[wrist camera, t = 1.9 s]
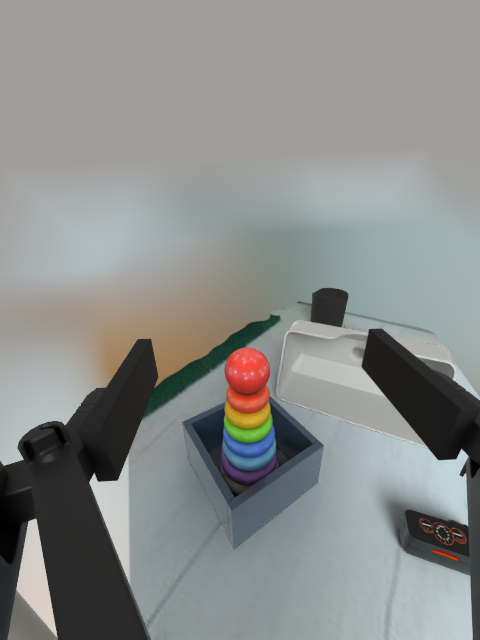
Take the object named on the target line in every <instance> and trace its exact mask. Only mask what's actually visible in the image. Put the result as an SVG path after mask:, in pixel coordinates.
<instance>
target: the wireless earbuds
mask: <svg viewBox="0 0 480 640" xmlns="http://www.w3.org/2000/svg"><path fill="white" fill-rule="evenodd" d="M399 533H400V539H401V544H402V547H403V549H404V551H405V552H406V553H408V554H411V555H413V556H416V557H419V558H422V559H425V560H427V561H430V562H433V563H436V564H439V565H442V566H444V567H447V568H450V569H453V570H456V571H458V572H461V573H464V574H467V575H470V552H469V527H468V526H467V525H464V524H463V525H462V524H460V523H458V522H456V521H454V520H448V521H445V520H442V519H438V518H435V517H432V516H429V515H425V514H422V513H419V512H416V511H412V510H406V511H405V513H404V515H403V517H402V520H401V522H400V524H399Z"/></svg>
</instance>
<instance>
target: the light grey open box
mask: <svg viewBox="0 0 480 640" xmlns="http://www.w3.org/2000/svg"><path fill="white" fill-rule="evenodd" d="M367 337H368V332H363V331H358V330H352V329H347V328H341V327H336V326H330V325H325V324H319V323H314V322H308V321H303V320H297V321H295V322H294V323H293V325H292V326H291V328H290V329H289V330H288V332H287V333H286V334H285V337H284V343H283V349H282V355H281V361H280V367H279V373H278V379H277V385H276V395H277V397H278V398H279V399H280V400H282V401H285V402H288V403H291V404H294V405H297V406H300V407H303V408H306V409H309V410H312V411H315V412H318V413H321V414H324V415H327V416H330V417H334V418H337V419H340V420H343V421H346V422H349V423H352V424H355V425H358V426H361V427H364V428H367V429H370V430H373V431H376V432H379V433H382V434H385V435H388V436H391V437H394V438H397V439H400V440H403V441H406V442H409V443H413V444H416V445H419V446H422V447H425V448H428V447H427V446H426V445H425V443H424V442H423V441H422V440H421V439H420V437H419V436H418V435H417V434H416V433H415V431H414V430H413V429H412V428H411V427H410V425H409V424H408V423H407V422H406V420H405V419H404V418H403V417H402V416H401V414H400V413H399V412H398V411H397V410H396V408H395V407H394V406H393V405H392V404H391V402H390V401H389V400H388V399H387V397H386V396H385V395H384V394H383V393H382V391H381V390H380V389H379V388H378V387H377V385H376V384H375V383H374V382H373V381H372V379H371V378H370V377H369V376H368V375H367V373H366V372H365V371H364V370H363V368H362V367H361V365H362V361H363V356H364V351H365V346H366V342H367ZM393 338H394V339H395V340H396V341H397V342H399V343H400V344H401V345H402V346H404V347H405V348H406V349H407V350H409V351H410V352H411V353H412V354H414V355H415V356H416V357H417V358H419V359H420V360H421V361H422V362H424V363H425V364H426V365H427V366H429V367H430V368H431V369H432V370H437V371H439V372H441V373H443V374H445V375H447V376H449V377H450V378H451V379H453V380H454V381H456V377H457V369H456V366H455V364H454V361H453V359H452V357H451V354H450V352H449V350H448V349H447V348H446V347H444V346H440V345H435V344H429V343H424V342H418V341H413V340H407V339H402V338H396V337H393ZM359 348H362V349H359Z"/></svg>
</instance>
